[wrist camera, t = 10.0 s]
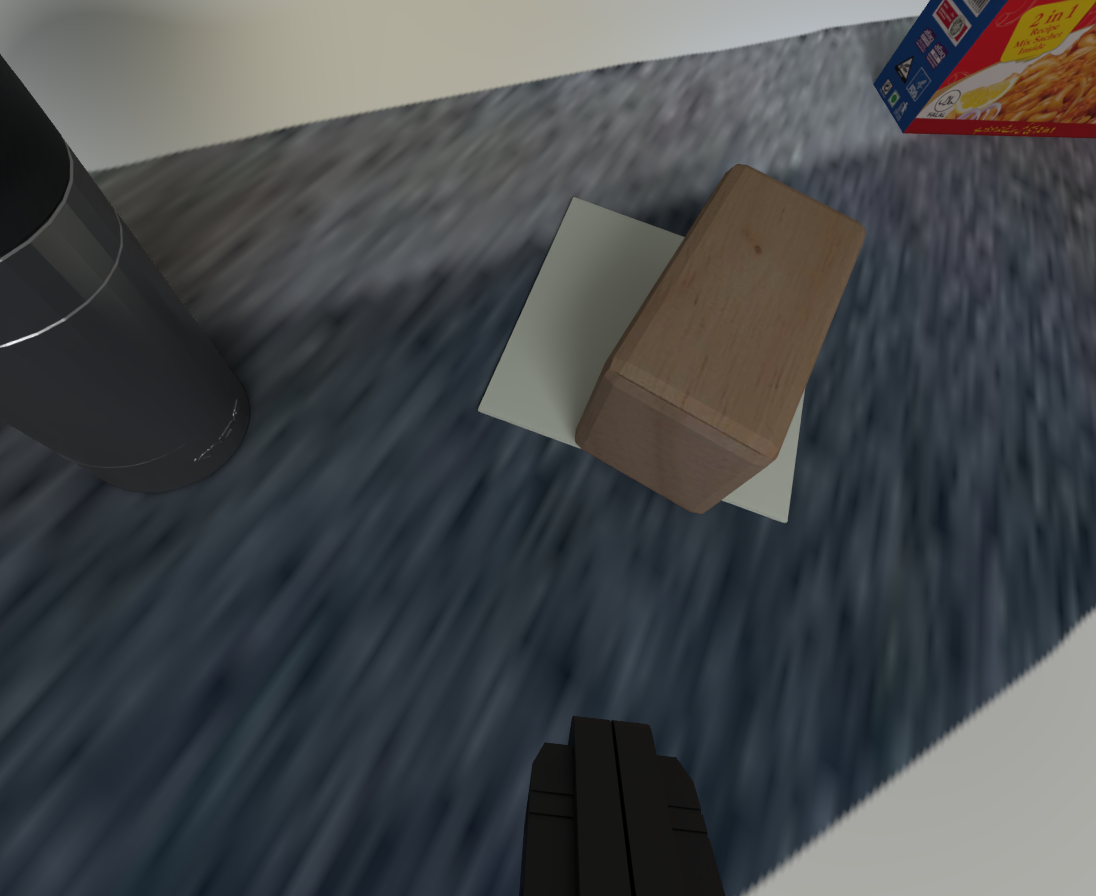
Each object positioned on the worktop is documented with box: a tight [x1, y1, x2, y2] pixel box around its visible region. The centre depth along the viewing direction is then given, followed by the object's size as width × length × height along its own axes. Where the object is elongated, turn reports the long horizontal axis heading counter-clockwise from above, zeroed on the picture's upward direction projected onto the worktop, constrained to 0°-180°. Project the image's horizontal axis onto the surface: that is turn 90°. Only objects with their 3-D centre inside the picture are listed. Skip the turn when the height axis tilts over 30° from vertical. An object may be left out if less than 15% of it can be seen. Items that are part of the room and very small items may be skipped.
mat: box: [478, 197, 805, 523], centre depth 41 cm, size 22×22×1 cm
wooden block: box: [575, 164, 866, 514], centre depth 35 cm, size 10×10×20 cm
